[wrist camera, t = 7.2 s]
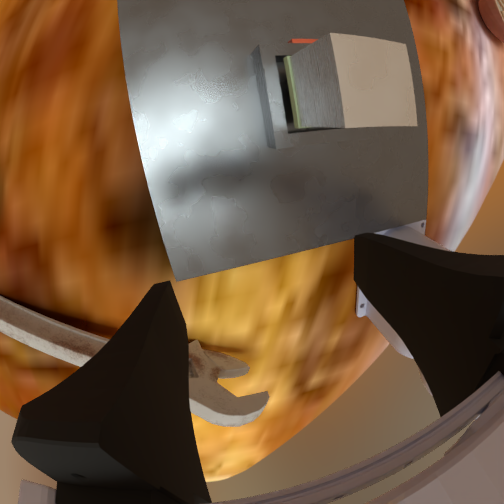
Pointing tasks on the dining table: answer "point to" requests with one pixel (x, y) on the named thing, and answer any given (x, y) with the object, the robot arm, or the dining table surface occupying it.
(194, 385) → the wrench
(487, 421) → the robot arm
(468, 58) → the dining table surface
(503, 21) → the brown rounded block
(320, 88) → the grey block
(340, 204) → the stand
